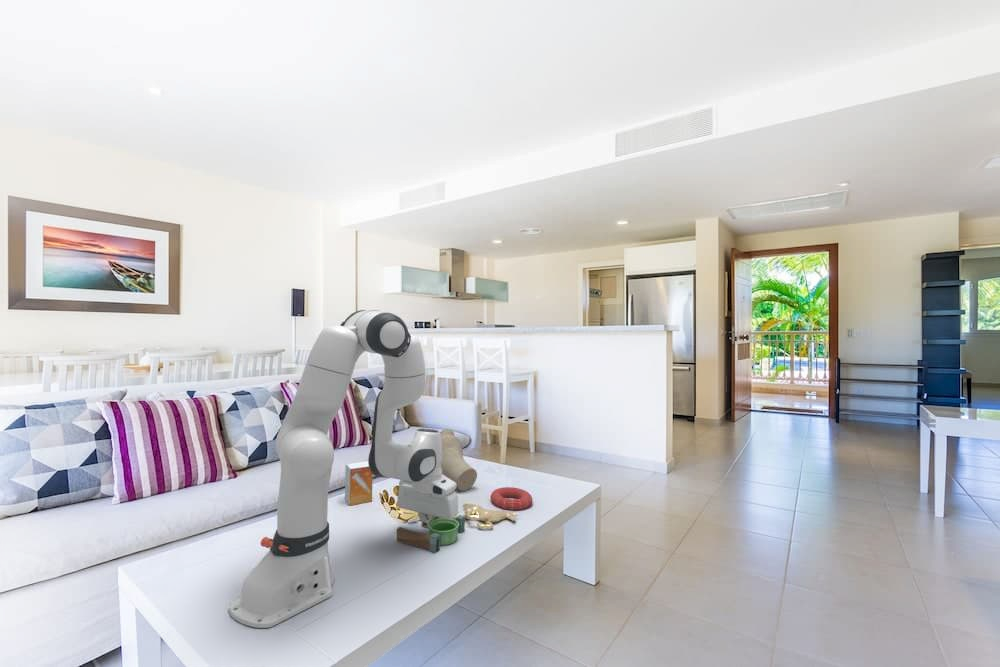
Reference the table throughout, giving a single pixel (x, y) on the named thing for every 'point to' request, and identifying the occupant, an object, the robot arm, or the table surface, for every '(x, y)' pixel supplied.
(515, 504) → the torus
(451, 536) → the ramekin
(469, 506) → the unicorn
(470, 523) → the table surface
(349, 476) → the small box
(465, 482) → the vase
